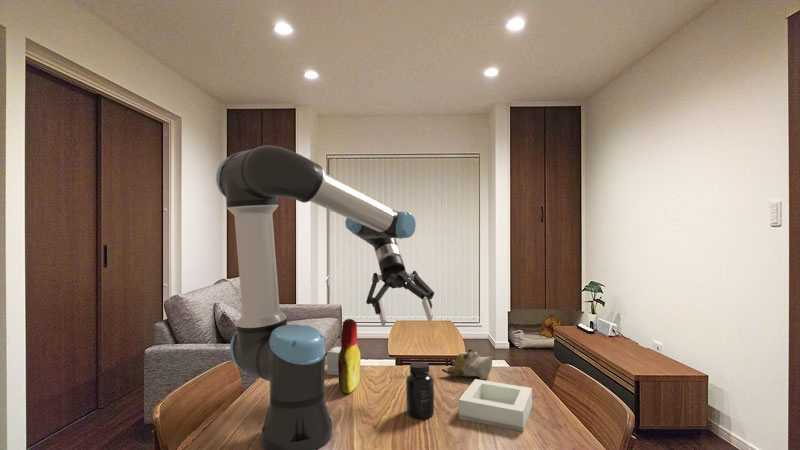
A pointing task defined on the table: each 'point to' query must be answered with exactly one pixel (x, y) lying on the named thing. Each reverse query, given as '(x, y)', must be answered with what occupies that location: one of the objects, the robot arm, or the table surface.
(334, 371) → the skincare box
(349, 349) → the bottle
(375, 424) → the table surface
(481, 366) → the ceramic sculpture
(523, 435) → the table surface
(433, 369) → the table surface
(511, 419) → the holder
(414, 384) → the supplement bottle
